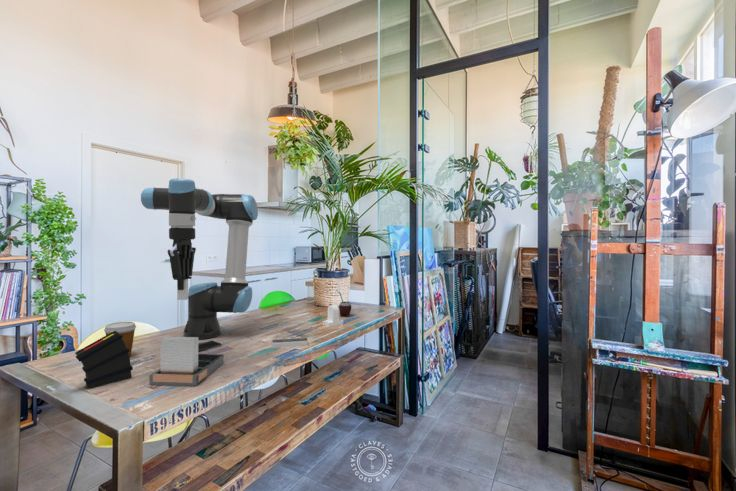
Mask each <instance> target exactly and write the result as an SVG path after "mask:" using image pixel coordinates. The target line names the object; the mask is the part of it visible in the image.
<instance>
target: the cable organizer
mask: <svg viewBox="0 0 736 491" xmlns="http://www.w3.org/2000/svg"><path fill="white" fill-rule="evenodd" d="M339 317H340V311H339V306H338V305H337V304H334V305H333V304H332V305H329V306H328V307H327V319H326V320H322V326H325V327H327V328H330V327H335V326H341V325H342V326H343V325H344V320H343V319H340V318H339Z"/></svg>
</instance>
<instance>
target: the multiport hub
mask: <svg viewBox="0 0 736 491" xmlns="http://www.w3.org/2000/svg"><path fill="white" fill-rule="evenodd" d="M308 345H309V340H308V338H307V337H301V338H300V337H299V338H298V337H297V338H286V339H282V338H281V339H271V348H272V349H274V348H276V349H277V348H289V347H304V346H308Z"/></svg>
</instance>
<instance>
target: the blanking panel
mask: <svg viewBox="0 0 736 491" xmlns="http://www.w3.org/2000/svg"><path fill="white" fill-rule="evenodd" d="M198 344H199V339H198V337H183V336H165V337H163V338H160V368H161V374H180V375H195V374H196V373H198V354H199V352H198Z"/></svg>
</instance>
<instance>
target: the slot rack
mask: <svg viewBox="0 0 736 491" xmlns="http://www.w3.org/2000/svg"><path fill="white" fill-rule="evenodd" d="M224 362H225V354H217V353H216V354H215V353H214V354H213V353H198V373H196V374H195V375H180V374H161V367H160V368H159V369H157V370H155V371H154V372H152V373H150V374H149V386H171V387H172V386H174V387H175V386H176V387H197V386H198V385H199V384H200V383H201V382H203V381H205V379H206V378H208V377H209V376H210V375H211V374H213V373H214V372H215V371H217V369H218V368H219V367H221V366H222V365H223V364H224Z"/></svg>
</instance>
